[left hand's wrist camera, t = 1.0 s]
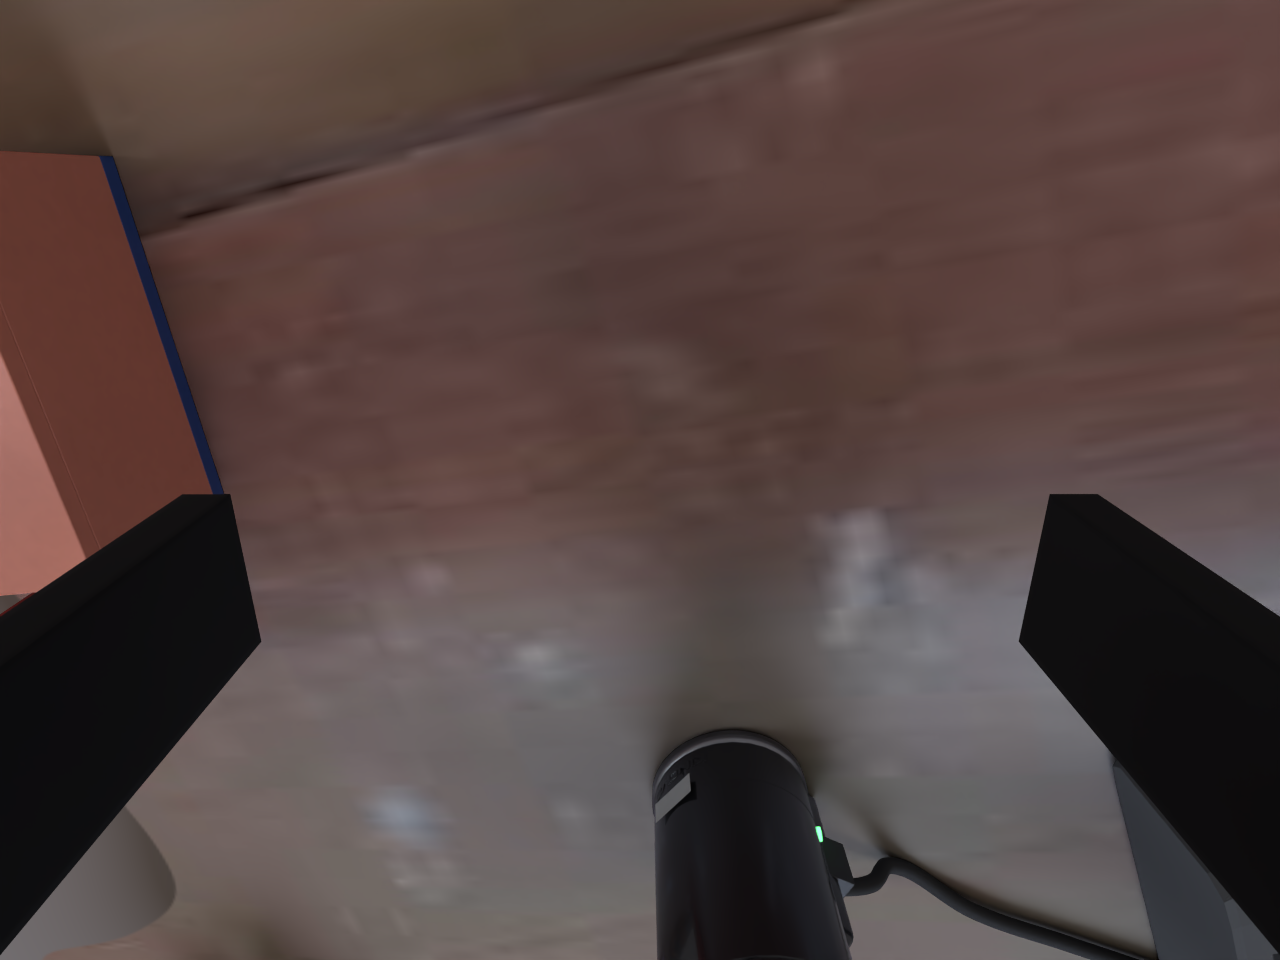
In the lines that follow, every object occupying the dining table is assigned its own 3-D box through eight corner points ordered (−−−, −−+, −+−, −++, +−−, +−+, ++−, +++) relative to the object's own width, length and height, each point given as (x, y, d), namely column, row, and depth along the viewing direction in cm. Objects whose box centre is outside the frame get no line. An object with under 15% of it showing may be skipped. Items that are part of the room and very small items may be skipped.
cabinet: (224, 493, 40) (97, 587, 30) (107, 505, 40) (-54, 601, 31) (112, 156, 34) (-86, 145, 25) (-24, 172, 34) (-272, 167, 25)
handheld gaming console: (1205, 980, 53) (1327, 1151, 43) (1165, 991, 53) (1278, 1162, 44) (1151, 733, 45) (1284, 876, 36) (1104, 748, 45) (1225, 893, 36)
